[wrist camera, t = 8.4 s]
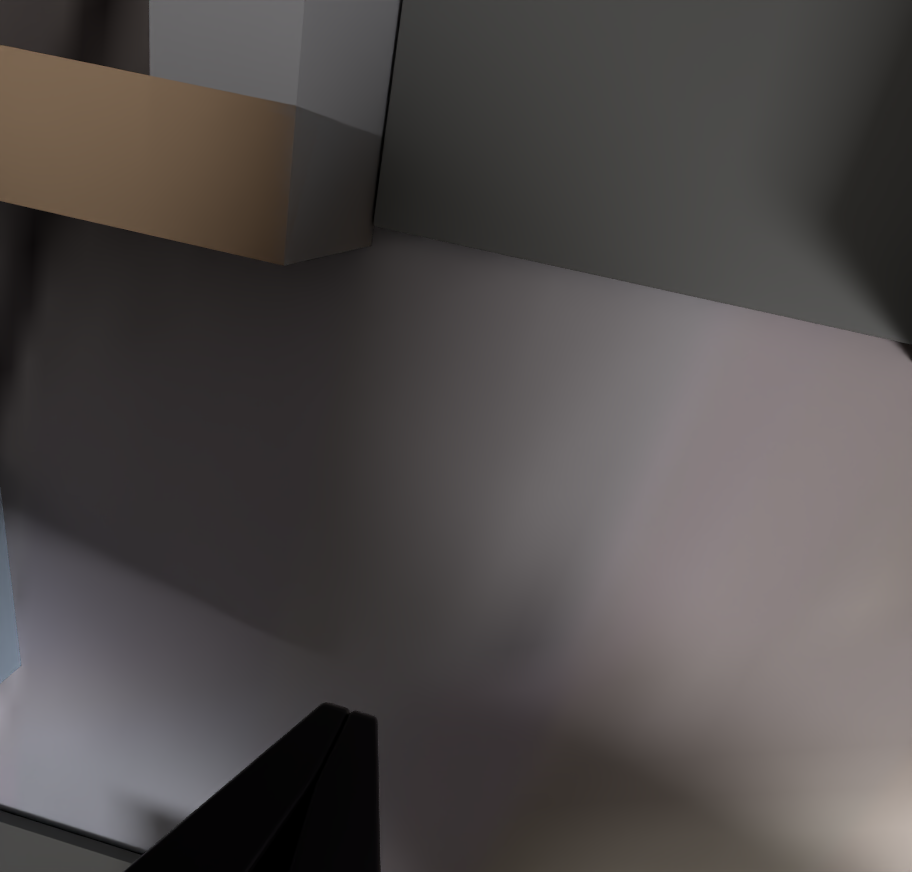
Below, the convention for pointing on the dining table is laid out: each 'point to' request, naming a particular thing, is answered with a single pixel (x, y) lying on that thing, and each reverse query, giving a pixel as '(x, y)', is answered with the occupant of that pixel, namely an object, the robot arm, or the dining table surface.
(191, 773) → the dining table surface
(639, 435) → the dining table surface
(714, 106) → the trap pockets
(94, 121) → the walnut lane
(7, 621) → the slate block
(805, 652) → the dining table surface
